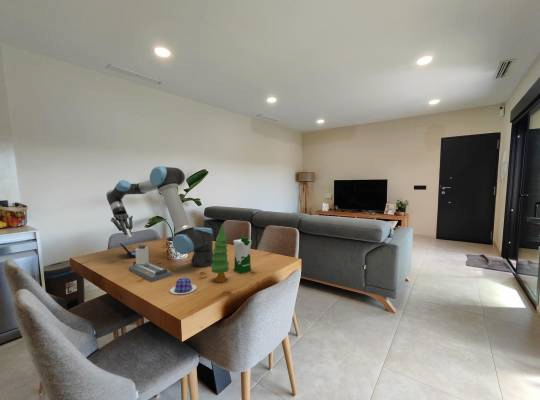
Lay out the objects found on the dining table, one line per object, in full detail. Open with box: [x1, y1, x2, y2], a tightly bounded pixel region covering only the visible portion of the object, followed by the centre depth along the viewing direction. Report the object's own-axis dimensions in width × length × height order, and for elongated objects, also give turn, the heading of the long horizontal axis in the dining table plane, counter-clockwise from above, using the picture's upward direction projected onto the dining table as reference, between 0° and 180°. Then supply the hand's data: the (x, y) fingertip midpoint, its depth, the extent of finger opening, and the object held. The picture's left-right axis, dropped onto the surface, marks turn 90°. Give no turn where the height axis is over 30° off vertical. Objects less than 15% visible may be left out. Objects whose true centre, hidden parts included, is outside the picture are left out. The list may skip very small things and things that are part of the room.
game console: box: [119, 242, 136, 259], centre depth 175 cm, size 16×14×9 cm
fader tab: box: [135, 244, 150, 266], centre depth 145 cm, size 5×6×12 cm
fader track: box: [128, 260, 173, 283], centre depth 140 cm, size 28×11×4 cm, turn 51°
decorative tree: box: [210, 223, 230, 283], centre depth 129 cm, size 10×9×30 cm
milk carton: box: [233, 236, 252, 274], centre depth 144 cm, size 9×9×20 cm
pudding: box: [169, 277, 197, 295], centre depth 118 cm, size 12×12×5 cm
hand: (129, 238), depth 154 cm, fingers closed
